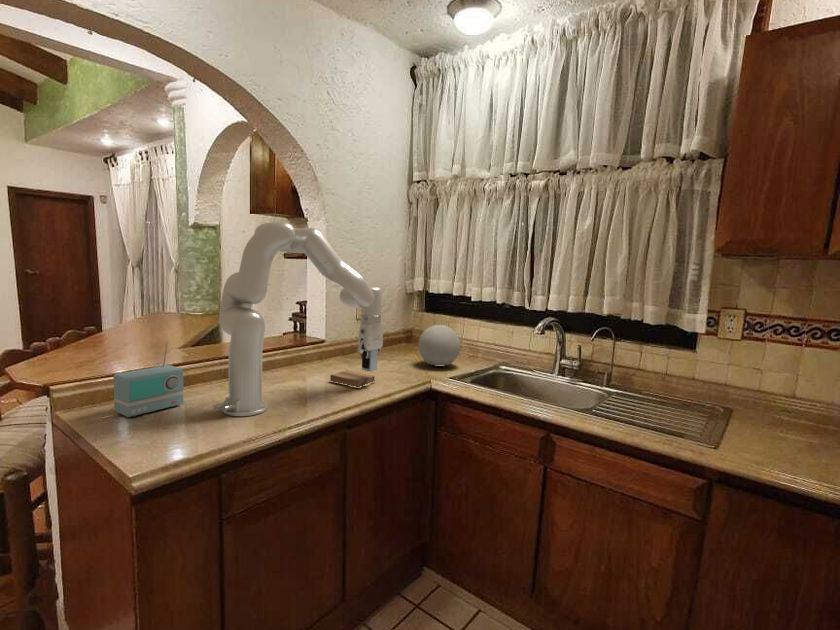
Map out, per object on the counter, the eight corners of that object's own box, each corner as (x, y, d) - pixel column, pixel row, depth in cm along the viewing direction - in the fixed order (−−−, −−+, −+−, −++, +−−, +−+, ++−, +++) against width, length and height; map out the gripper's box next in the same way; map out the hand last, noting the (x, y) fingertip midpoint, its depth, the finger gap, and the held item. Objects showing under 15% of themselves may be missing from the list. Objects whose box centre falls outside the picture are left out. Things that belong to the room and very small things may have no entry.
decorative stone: (410, 363, 207) (412, 322, 205) (445, 360, 217) (447, 321, 215) (430, 372, 190) (432, 328, 188) (467, 369, 199) (469, 327, 197)
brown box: (358, 388, 160) (358, 381, 159) (330, 382, 167) (330, 374, 166) (374, 383, 168) (374, 376, 168) (347, 377, 175) (347, 370, 175)
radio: (129, 421, 118) (127, 350, 116) (114, 414, 123) (112, 346, 121) (186, 406, 132) (185, 343, 130) (170, 401, 137) (168, 339, 134)
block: (370, 371, 160) (371, 350, 159) (362, 369, 162) (362, 348, 161) (376, 369, 163) (377, 348, 162) (368, 367, 165) (369, 347, 164)
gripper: (364, 322, 151) (363, 372, 154) (391, 318, 166) (390, 364, 168) (348, 320, 155) (347, 369, 157) (376, 316, 170) (374, 361, 172)
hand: (369, 366), depth 163 cm, fingers closed on block, 4 cm apart
